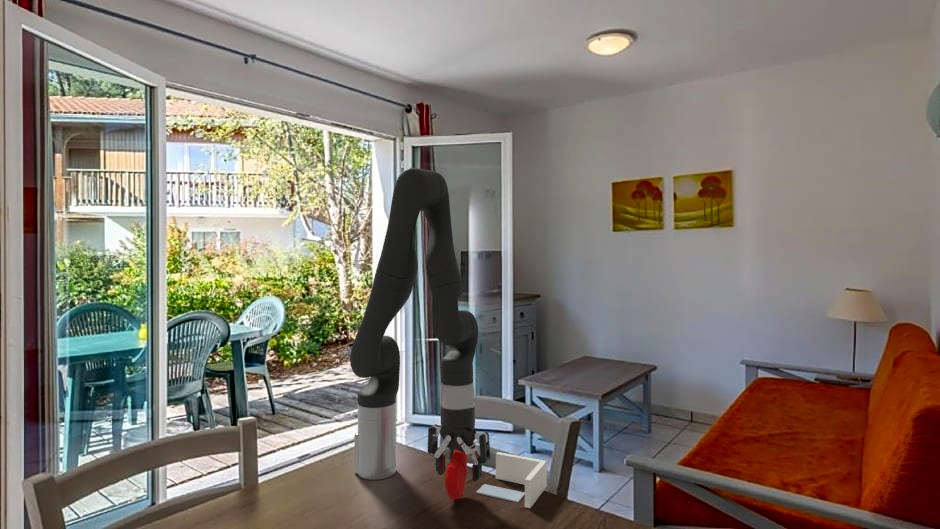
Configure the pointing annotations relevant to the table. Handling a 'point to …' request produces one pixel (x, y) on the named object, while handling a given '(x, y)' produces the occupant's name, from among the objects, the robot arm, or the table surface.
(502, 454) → the corner walls
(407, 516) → the table surface
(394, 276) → the robot arm
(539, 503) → the table surface
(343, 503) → the table surface
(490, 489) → the pad
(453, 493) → the heart
